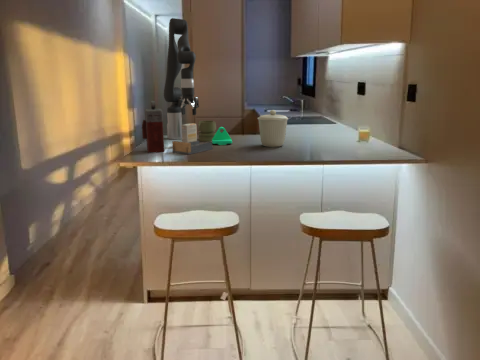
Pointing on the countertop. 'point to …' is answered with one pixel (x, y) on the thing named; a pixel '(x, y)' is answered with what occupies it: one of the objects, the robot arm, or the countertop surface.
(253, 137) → the countertop surface
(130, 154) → the countertop surface
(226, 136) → the camera mount
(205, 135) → the piston
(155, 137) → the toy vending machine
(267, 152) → the countertop surface
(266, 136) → the canister
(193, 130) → the supplement box
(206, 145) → the rail
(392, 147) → the countertop surface
